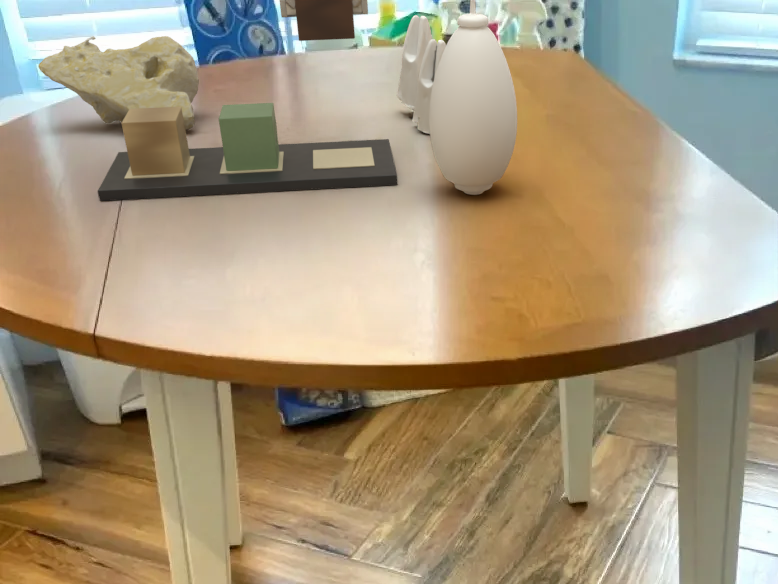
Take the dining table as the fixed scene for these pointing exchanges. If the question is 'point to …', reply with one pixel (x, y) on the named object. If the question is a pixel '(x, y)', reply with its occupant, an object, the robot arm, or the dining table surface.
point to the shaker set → (419, 70)
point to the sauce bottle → (473, 107)
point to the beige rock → (127, 77)
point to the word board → (260, 172)
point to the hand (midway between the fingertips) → (324, 15)
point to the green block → (249, 136)
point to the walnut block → (324, 19)
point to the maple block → (156, 140)
